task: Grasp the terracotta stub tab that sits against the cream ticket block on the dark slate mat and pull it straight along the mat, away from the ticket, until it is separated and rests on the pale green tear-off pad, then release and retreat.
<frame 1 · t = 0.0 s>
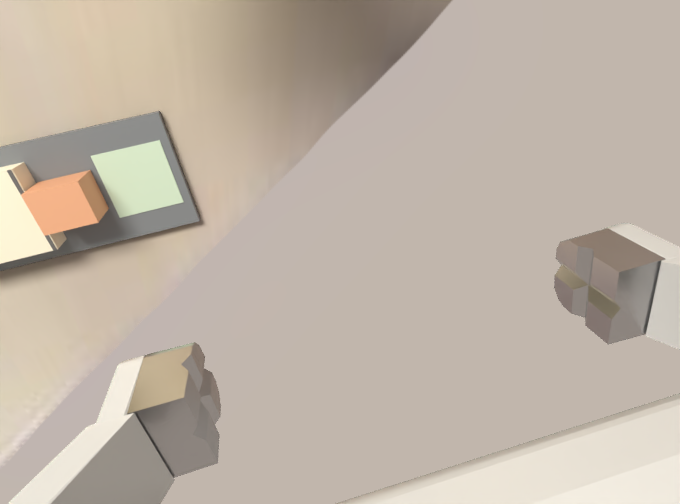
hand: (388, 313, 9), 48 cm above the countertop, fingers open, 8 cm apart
ticket board: (49, 199, 52), on the countertop
stub: (67, 202, 50), point 3 cm above the countertop, slide at 0.0 cm
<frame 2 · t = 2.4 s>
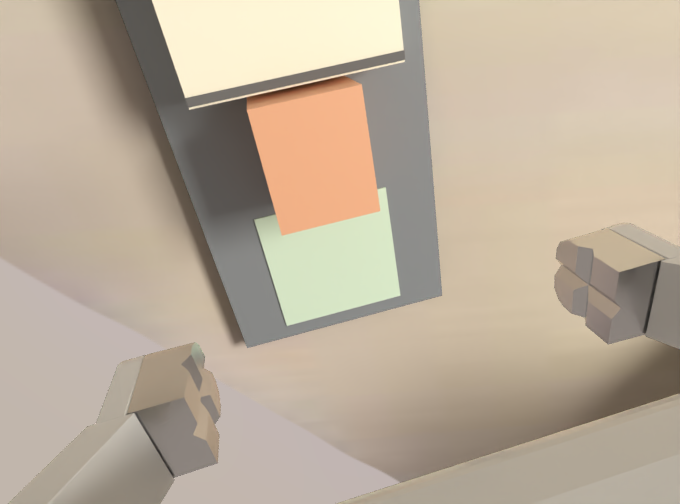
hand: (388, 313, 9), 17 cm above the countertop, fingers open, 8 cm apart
ticket board: (291, 76, 23), on the countertop
stub: (312, 152, 22), point 3 cm above the countertop, slide at 0.0 cm
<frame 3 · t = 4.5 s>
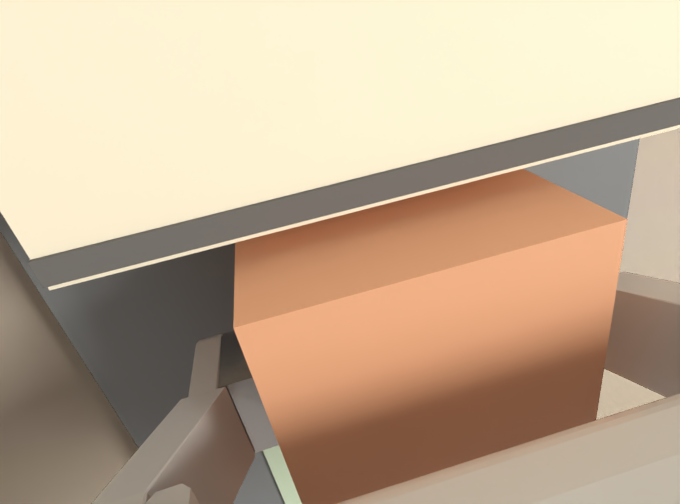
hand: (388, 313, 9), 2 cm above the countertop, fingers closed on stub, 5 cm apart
ticket board: (339, 141, 10), on the countertop
stub: (404, 342, 9), point 3 cm above the countertop, slide at 0.0 cm, touching gripper
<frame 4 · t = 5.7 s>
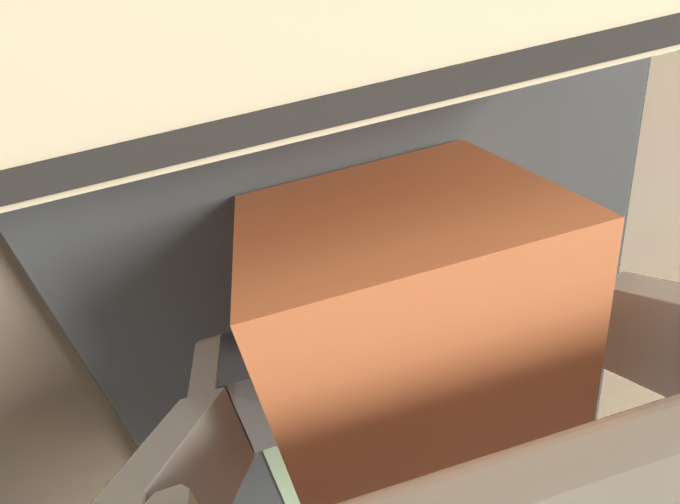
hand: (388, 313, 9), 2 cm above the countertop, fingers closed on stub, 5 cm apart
ticket board: (328, 88, 9), on the countertop
stub: (402, 341, 9), point 3 cm above the countertop, slide at 1.2 cm, touching gripper
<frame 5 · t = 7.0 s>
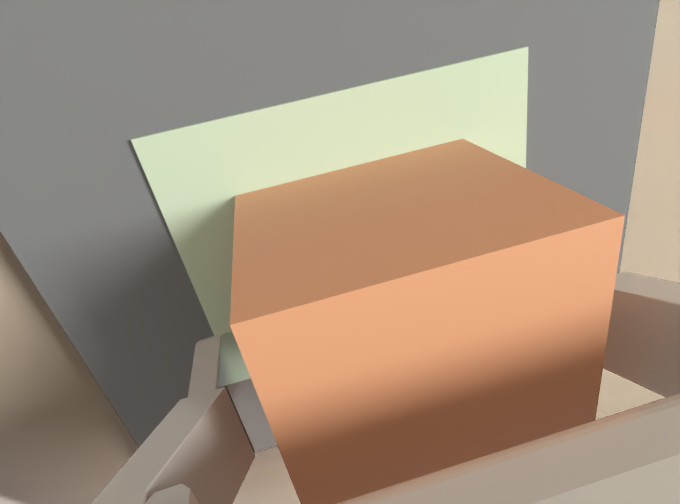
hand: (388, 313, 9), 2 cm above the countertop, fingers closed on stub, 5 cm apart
stub: (403, 340, 9), point 3 cm above the countertop, slide at 8.2 cm, touching gripper
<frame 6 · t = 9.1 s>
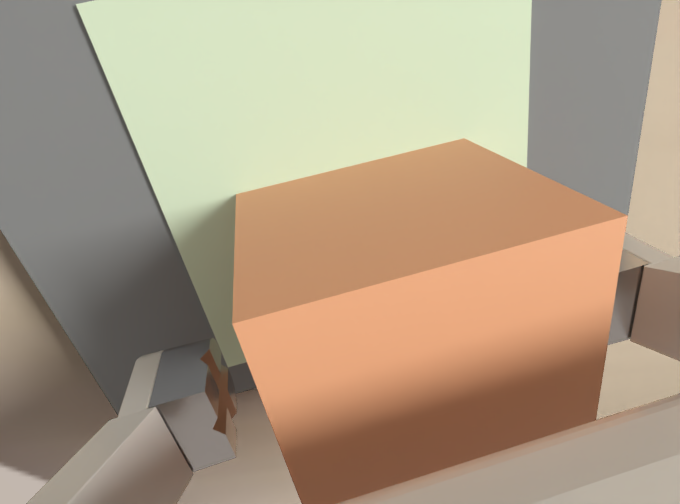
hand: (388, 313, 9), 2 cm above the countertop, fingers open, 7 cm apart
stub: (403, 340, 9), point 3 cm above the countertop, slide at 10.4 cm
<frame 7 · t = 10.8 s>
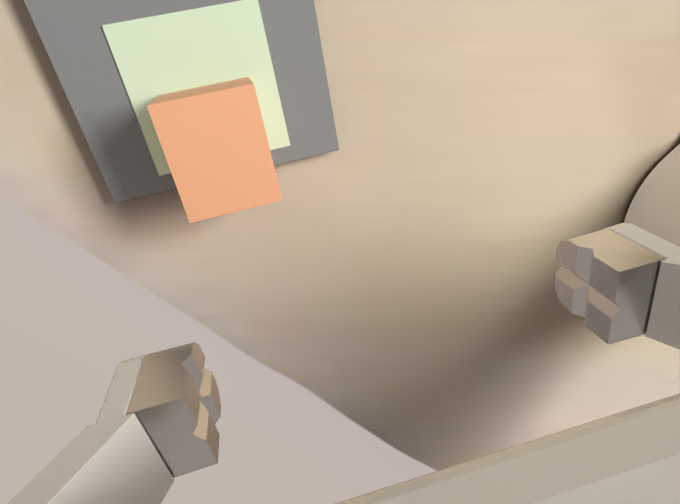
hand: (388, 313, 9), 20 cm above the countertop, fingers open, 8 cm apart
stub: (220, 147, 23), point 3 cm above the countertop, slide at 10.4 cm
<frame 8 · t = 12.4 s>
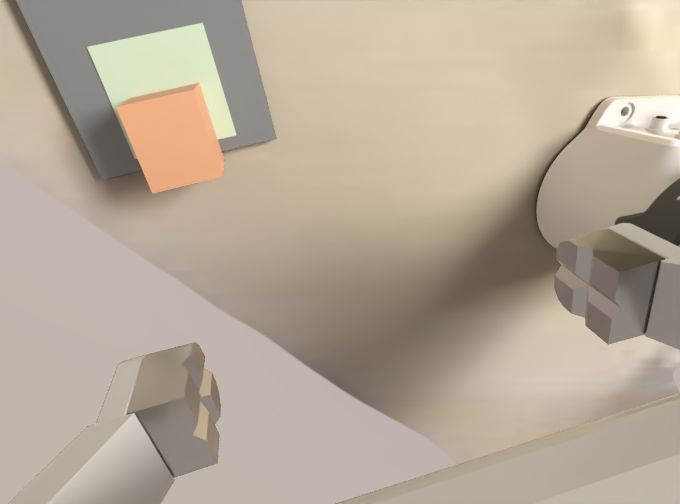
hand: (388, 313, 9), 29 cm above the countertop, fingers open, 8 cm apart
stub: (176, 136, 31), point 3 cm above the countertop, slide at 10.4 cm
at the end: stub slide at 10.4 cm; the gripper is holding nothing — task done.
